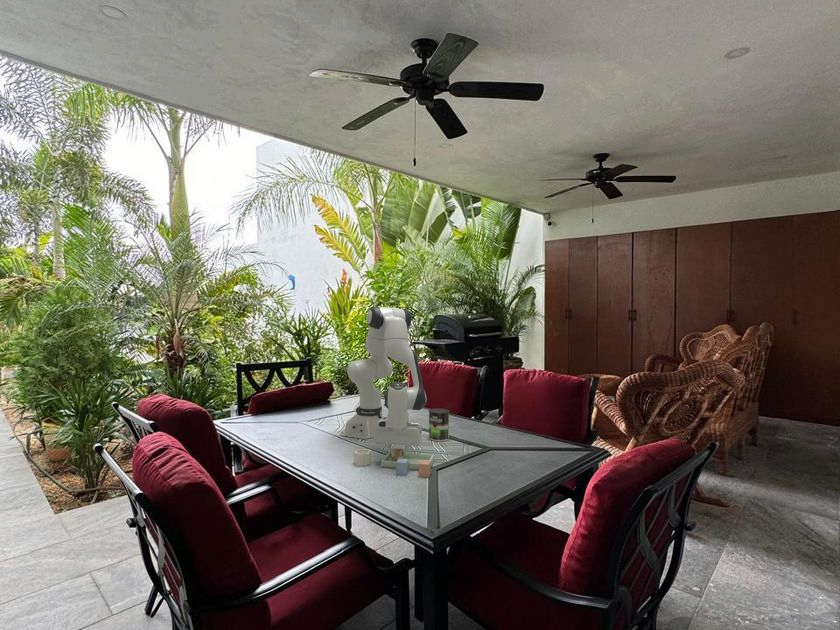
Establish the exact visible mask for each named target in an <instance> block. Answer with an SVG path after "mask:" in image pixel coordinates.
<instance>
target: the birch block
mask: <svg viewBox="0 0 840 630" xmlns="http://www.w3.org/2000/svg"><path fill="white" fill-rule="evenodd" d="M392 449H393V451H392V461H395V462H397V461H398V459H404V455H403V450H405V449H404V448H396V447H395V448H392Z"/></svg>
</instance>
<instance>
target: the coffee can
mask: <svg viewBox="0 0 840 630" xmlns="http://www.w3.org/2000/svg"><path fill="white" fill-rule="evenodd" d="M428 416H429V417H428V418H429V419H428V424H429V425H428V439H429V440H430V441H433V442H446V441H449V440H450V410H449V409H448V408H441V407H440V408H438V407H437V408H431V409H429V410H428Z"/></svg>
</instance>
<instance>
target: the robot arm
mask: <svg viewBox="0 0 840 630" xmlns="http://www.w3.org/2000/svg"><path fill="white" fill-rule="evenodd" d="M366 324H367V325H368V327H369V328H368V332H367V335H366V341H365V345H364V347H365V350H366V351H367V352H368V353H369V354H370V357H369V358H364V359H358V360H354V361H352V362H350V363H349V365H348V366H347V370H346V371H347V376H348V378H349V380H351V381H352V383H353V382H354V384H355V386H356V387H357V389H358V394H359V395H358V396H359V405H358V406H357V408H355V414H354V415H353V416H352V417H350V418H349V419H348V420H347V421H346V423H345V426H344V429H342V430H341V431H340V434H341V435H340V436H341V437H346V436H347V438H353V437H354V439H361V440H362V439H363V440H369V439H372V438H373V442H375V444H380V445H381V444H383V445H384V444H385V446H386V447H385V448H386V449H387V450H388V452H389V454H392V451H393V449H394V448H391V445H395V446H396V445H397V446H404V447H405V449H404V450H403V455H404V456H406V455H407V453H408V450H409V449H410V446H411V447H419V446H421V444H422V442H423V439H422V432H423V426H422V425H421V424H419V423H417V422H409V412H408V410H413V411H420V410H422V409H424V408H425V406H426V405H427V394H426V391H425V388H424V384H423V379H422V374H421V369H420V365H419V361H418V356H417V353H416V352H415V351H413V350H412V349H411V347H410V344H409V343H410V342H409V331H408V329H409V328H410V327H411V324H412V314H411V312H410V311H409V310H407V309H404V308H399V307H393V306H371V307H370V308H369V309H368V311H367V312H366ZM388 357H389V358H388ZM390 359H392V360H393V361H395V362H398V363H401V364H402V365H403V364H404V365H405V366H407V367H408V368H409V370H410V373H411V379H412V383H413V386H412V387H408V386H407V384H406V383H404V382H400V381H398V382H397V381H396V382H392V383H391V384H389V386H388V388H387V389H386V391H384V393H383V396H384V397H383V398H384V405H383V406H384V407H386V409H387V414H386V415H387V416H384V417H383V406H382V392H381V390H380V389H379V388H378V387H376V386H375V385H374V380H383V379H385V378H387V377H390V376H391V375H392V373H393V371H394V370H393V369H394V366H393V363H392V361H391V360H390Z"/></svg>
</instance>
